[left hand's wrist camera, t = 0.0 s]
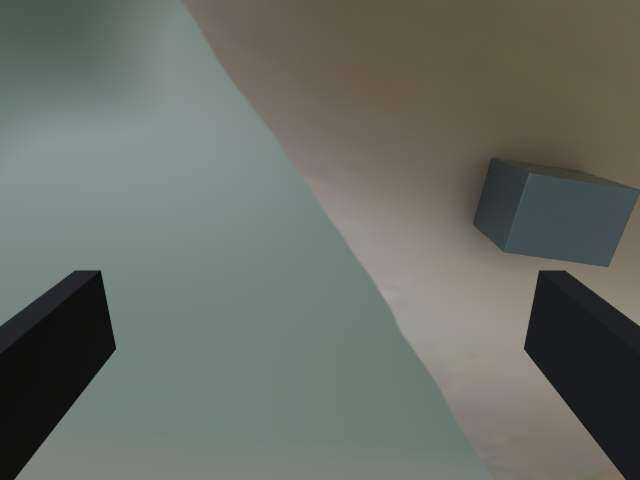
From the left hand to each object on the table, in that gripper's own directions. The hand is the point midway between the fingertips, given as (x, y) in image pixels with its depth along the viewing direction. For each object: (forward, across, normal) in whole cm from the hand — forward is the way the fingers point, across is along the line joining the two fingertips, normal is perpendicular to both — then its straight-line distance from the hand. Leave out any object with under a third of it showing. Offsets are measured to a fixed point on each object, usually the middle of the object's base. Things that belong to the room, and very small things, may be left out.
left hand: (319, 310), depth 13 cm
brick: (+28, +20, -4) cm, 35 cm away
